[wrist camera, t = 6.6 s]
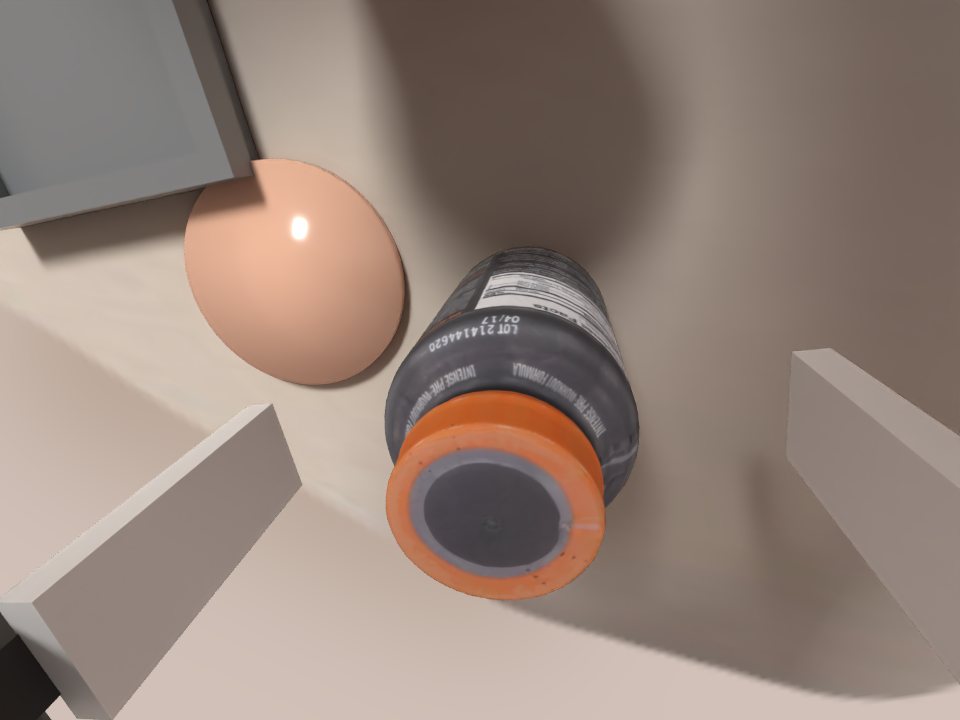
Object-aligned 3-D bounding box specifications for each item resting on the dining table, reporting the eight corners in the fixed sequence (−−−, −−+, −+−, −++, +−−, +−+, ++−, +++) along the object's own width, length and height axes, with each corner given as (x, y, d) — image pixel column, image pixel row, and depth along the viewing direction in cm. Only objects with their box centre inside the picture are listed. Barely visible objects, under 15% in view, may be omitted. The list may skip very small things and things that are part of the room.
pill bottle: (496, 409, 20) (431, 669, 10) (426, 287, 19) (261, 452, 8) (631, 354, 18) (719, 605, 8) (565, 213, 17) (572, 309, 7)
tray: (-171, -134, 16) (-254, -166, 14) (117, -272, 14) (56, -330, 12) (19, 227, 20) (-28, 234, 19) (263, 175, 18) (234, 177, 16)
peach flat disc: (159, 183, 19) (147, 184, 18) (370, 136, 17) (364, 135, 16) (242, 387, 22) (234, 393, 21) (427, 367, 20) (423, 373, 20)
